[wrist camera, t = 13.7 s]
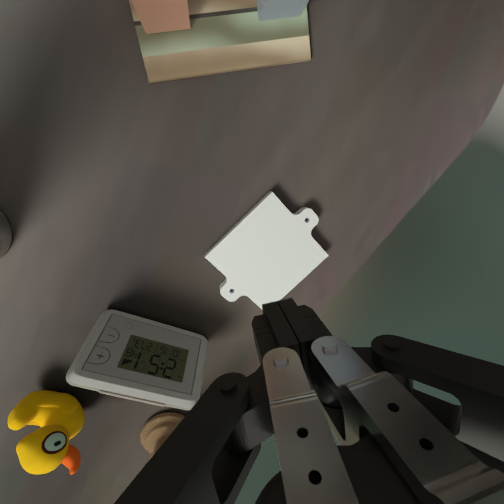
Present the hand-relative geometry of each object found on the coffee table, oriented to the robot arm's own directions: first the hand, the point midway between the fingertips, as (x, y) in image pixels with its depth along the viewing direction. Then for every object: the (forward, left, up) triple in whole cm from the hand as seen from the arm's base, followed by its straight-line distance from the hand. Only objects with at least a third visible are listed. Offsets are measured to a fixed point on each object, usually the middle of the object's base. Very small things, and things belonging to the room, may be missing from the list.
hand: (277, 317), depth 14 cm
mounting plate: (+6, -4, -28) cm, 29 cm away
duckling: (-21, -32, -27) cm, 47 cm away
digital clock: (-9, -19, -27) cm, 35 cm away
